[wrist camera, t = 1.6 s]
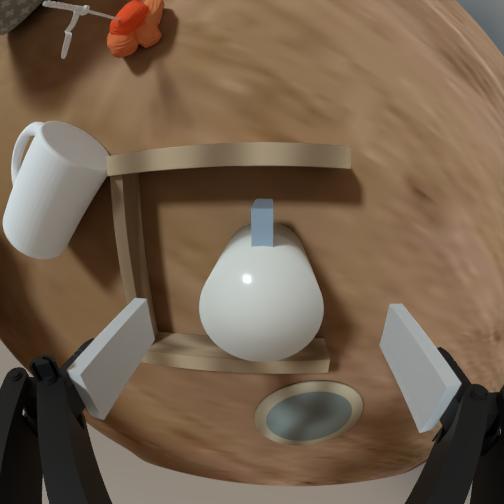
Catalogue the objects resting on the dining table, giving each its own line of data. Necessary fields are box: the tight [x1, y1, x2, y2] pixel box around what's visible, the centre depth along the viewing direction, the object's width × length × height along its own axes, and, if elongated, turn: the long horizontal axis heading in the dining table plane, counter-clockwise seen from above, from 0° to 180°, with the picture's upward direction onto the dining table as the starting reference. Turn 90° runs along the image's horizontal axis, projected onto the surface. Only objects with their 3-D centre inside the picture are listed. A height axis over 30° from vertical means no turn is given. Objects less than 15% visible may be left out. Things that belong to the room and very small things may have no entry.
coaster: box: [254, 380, 363, 445], centre depth 29 cm, size 14×14×1 cm
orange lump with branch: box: [42, 0, 164, 59], centre depth 12 cm, size 6×10×12 cm, turn 146°
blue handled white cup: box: [199, 199, 324, 362], centre depth 19 cm, size 7×9×9 cm
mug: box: [3, 121, 110, 259], centre depth 18 cm, size 12×10×8 cm
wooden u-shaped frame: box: [106, 142, 350, 374], centre depth 22 cm, size 18×19×4 cm
